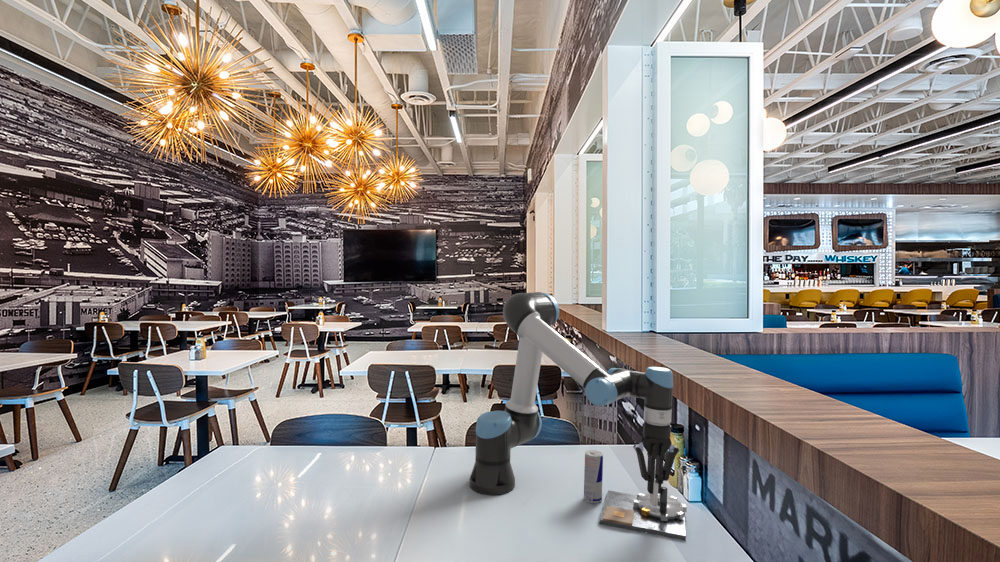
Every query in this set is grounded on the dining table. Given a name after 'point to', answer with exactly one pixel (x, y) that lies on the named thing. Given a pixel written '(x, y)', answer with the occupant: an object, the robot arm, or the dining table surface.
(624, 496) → the base plate
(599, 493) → the beverage can
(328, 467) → the dining table surface
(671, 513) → the index wheel
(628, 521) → the marked pad
